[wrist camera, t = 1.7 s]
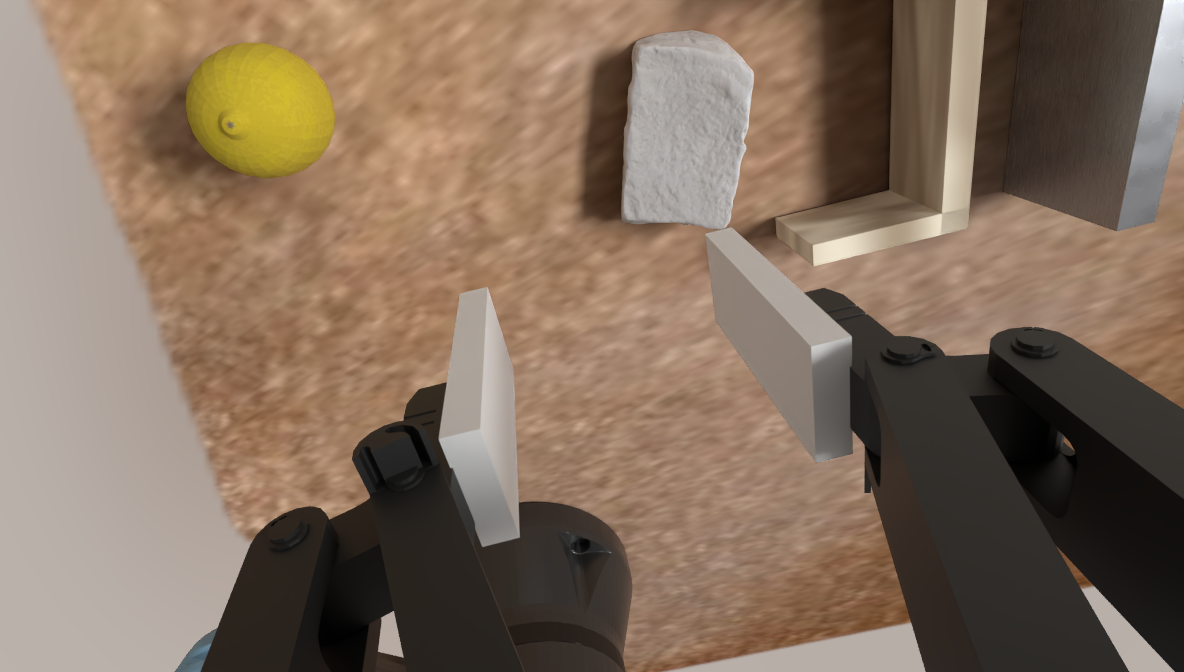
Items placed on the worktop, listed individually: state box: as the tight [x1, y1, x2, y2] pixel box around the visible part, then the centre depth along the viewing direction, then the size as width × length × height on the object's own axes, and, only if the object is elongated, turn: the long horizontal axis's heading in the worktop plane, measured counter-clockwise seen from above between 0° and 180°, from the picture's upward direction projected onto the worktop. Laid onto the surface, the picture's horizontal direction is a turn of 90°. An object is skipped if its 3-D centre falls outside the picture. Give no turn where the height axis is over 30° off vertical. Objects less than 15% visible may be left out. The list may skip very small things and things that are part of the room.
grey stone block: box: [621, 30, 754, 229], centre depth 33 cm, size 10×6×6 cm, turn 171°
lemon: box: [185, 43, 335, 178], centre depth 27 cm, size 6×6×8 cm
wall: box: [1003, 0, 1184, 231], centre depth 31 cm, size 2×16×8 cm, turn 11°
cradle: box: [775, 0, 987, 266], centre depth 32 cm, size 8×14×5 cm, turn 11°
